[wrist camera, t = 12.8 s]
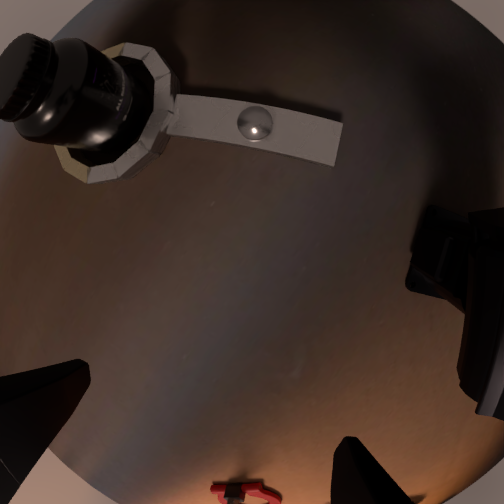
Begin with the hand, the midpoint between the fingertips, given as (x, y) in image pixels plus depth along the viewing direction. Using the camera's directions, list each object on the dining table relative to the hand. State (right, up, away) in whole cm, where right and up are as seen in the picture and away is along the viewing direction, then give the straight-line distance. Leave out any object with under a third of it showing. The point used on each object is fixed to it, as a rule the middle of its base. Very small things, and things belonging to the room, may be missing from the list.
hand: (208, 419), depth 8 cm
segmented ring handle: (-1, +14, +11) cm, 18 cm away
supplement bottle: (-9, +16, +11) cm, 22 cm away
